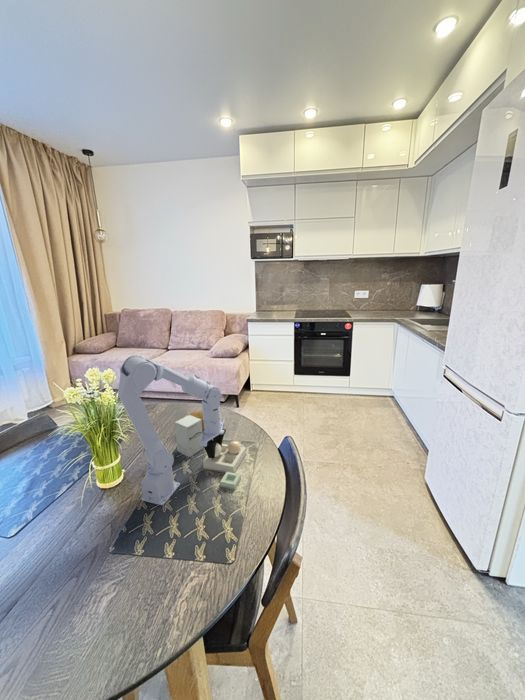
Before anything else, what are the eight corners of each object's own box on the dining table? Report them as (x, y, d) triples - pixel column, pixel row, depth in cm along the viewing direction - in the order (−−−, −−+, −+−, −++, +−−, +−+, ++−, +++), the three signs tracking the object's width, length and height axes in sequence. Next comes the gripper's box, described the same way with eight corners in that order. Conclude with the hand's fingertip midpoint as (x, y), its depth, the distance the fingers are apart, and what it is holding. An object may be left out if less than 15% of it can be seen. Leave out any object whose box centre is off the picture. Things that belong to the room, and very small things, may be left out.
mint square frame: (235, 489, 94) (234, 484, 93) (220, 486, 95) (220, 481, 94) (240, 479, 98) (240, 474, 98) (227, 476, 100) (226, 471, 99)
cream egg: (218, 460, 102) (217, 448, 101) (205, 458, 104) (204, 446, 102) (224, 452, 107) (223, 440, 105) (212, 450, 108) (211, 438, 107)
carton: (233, 474, 101) (233, 466, 100) (203, 468, 104) (202, 461, 103) (246, 454, 111) (245, 447, 110) (217, 449, 115) (217, 442, 114)
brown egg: (238, 458, 106) (237, 446, 105) (225, 456, 107) (224, 444, 106) (243, 450, 110) (242, 439, 109) (231, 448, 112) (230, 437, 110)
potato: (189, 424, 135) (188, 407, 133) (220, 423, 134) (219, 407, 132) (183, 435, 125) (181, 418, 123) (216, 435, 125) (215, 418, 123)
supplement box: (189, 458, 110) (186, 427, 107) (177, 451, 115) (173, 421, 111) (204, 448, 116) (201, 419, 113) (192, 442, 120) (189, 414, 117)
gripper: (212, 430, 93) (215, 467, 97) (231, 410, 107) (233, 443, 110) (193, 427, 96) (196, 464, 99) (213, 408, 109) (216, 440, 112)
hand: (214, 453), depth 105 cm, fingers closed on cream egg, 5 cm apart
